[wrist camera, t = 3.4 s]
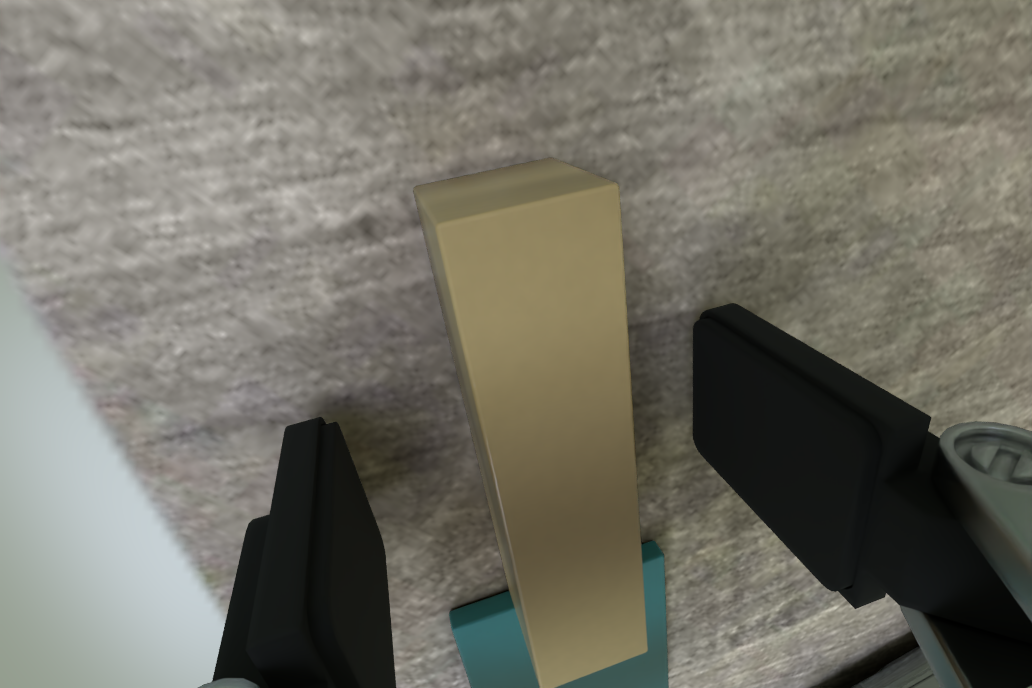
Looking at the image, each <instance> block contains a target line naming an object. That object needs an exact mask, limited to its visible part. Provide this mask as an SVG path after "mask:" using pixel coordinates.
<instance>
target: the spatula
mask: <svg viewBox="0 0 1032 688" xmlns="http://www.w3.org/2000/svg"><path fill="white" fill-rule="evenodd" d="M413 192H414V196H415V200H416V205H417V209H418V213H419V217H420V221H421V225H422V230H423V234H424V238H425V242H426V246H427V250H428V255H429V259H430V263H431V267H432V271H433V275H434V280H435V284H436V288H437V292H438V296H439V300H440V305H441V309H442V313H443V317H444V321H445V325H446V330H447V334H448V338H449V342H450V346H451V350H452V355H453V359H454V363H455V367H456V371H457V375H458V380H459V384H460V388H461V392H462V396H463V400H464V405H465V409H466V413H467V417H468V421H469V425H470V430H471V434H472V438H473V442H474V446H475V450H476V455H477V459H478V463H479V467H480V471H481V475H482V480H483V484H484V488H485V492H486V496H487V500H488V505H489V509H490V513H491V517H492V521H493V525H494V530H495V534H496V538H497V542H498V546H499V550H500V555H501V559H502V563H503V567H504V571H505V575H506V580H507V584H508V588H509V591H507V592H504V593H501V594H498V595H495V596H492V597H490V598H487V599H484V600H481V601H478V602H475V603H472V604H470V605H467V606H464V607H461V608H458V609H455V610H452V611H450V613H449V617H450V623H451V628H452V632H453V635H454V638H455V641H456V644H457V647H458V650H459V653H460V656H461V659H462V662H463V665H464V668H465V671H466V674H467V677H468V680H469V683H470V686H471V688H669V685H668V655H667V625H666V595H665V565H664V554H663V552H662V551H661V549H660V548H659V546H658V545H657V543H656V542H655V541H650V542H647V543H644V544H641V532H640V516H639V500H638V484H637V467H636V451H635V435H634V419H633V402H632V386H631V370H630V354H629V337H628V321H627V305H626V289H625V273H624V256H623V240H622V224H621V208H620V191H619V186H618V184H617V183H615V182H612V181H610V180H607V179H605V178H602V177H600V176H597V175H595V174H592V173H590V172H587V171H584V170H582V169H579V168H577V167H574V166H572V165H569V164H567V163H564V162H562V161H559V160H556V159H554V158H547V159H542V160H537V161H532V162H528V163H523V164H518V165H514V166H509V167H504V168H499V169H495V170H490V171H485V172H481V173H476V174H471V175H466V176H462V177H457V178H452V179H448V180H443V181H438V182H433V183H429V184H424V185H419V186H416V187H415V188H414V190H413Z"/></svg>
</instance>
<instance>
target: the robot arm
mask: <svg viewBox="0 0 1032 688" xmlns="http://www.w3.org/2000/svg"><path fill="white" fill-rule="evenodd" d="M930 421H931V417H930V416H928V415H927V414H925V413H923V412H921V411H920V410H918V409H916V408H915V407H913V406H911V405H909V404H908V403H906V402H904V401H903V400H901V399H899V398H897V397H896V396H894V395H892V394H891V393H889V392H887V391H885V390H884V389H882V388H880V387H879V386H877V385H875V384H873V383H872V382H870V381H868V380H866V379H865V378H863V377H861V376H860V375H858V374H856V373H854V372H853V371H851V370H849V369H848V368H846V367H844V366H842V365H841V364H839V363H837V362H836V361H834V360H832V359H830V358H829V357H827V356H825V355H824V354H822V353H820V352H818V351H817V350H815V349H813V348H812V347H810V346H808V345H806V344H805V343H803V342H801V341H799V340H798V339H796V338H794V337H793V336H791V335H789V334H787V333H786V332H784V331H782V330H781V329H779V328H777V327H775V326H774V325H772V324H770V323H769V322H767V321H765V320H763V319H762V318H760V317H758V316H757V315H755V314H753V313H751V312H750V311H748V310H746V309H744V308H743V307H741V306H739V305H737V304H734V303H732V304H728V305H724V306H720V307H717V308H713V309H709V310H706V311H704V312H703V313H702V314H701V316H700V320H698V321H696V322H695V324H694V326H693V440H694V443H695V446H696V448H697V450H698V452H699V453H700V454H701V455H702V456H703V458H704V459H705V460H706V461H707V462H708V463H709V464H710V465H711V466H712V467H713V468H714V469H715V470H716V471H717V472H718V474H719V475H720V476H721V477H722V478H723V479H724V480H725V481H726V482H727V483H728V484H729V485H730V486H731V487H732V489H733V490H734V491H735V492H736V493H737V494H738V495H739V496H740V497H741V498H742V499H743V500H744V501H745V502H746V503H747V505H748V506H749V507H750V508H751V509H752V510H753V511H754V512H755V513H756V514H757V515H758V516H759V517H760V518H761V519H762V521H763V522H764V523H765V524H766V525H767V526H768V527H769V528H770V529H771V530H772V531H773V532H774V533H775V534H776V536H777V537H778V538H779V539H780V540H781V541H782V542H783V543H784V544H785V545H786V546H787V547H788V548H789V549H790V550H791V552H792V553H793V554H794V555H795V556H796V557H797V558H798V559H799V560H800V561H801V562H802V563H803V564H804V565H805V566H806V568H807V569H808V570H809V571H810V572H811V573H812V574H813V575H814V576H815V577H816V578H817V579H818V580H819V581H820V583H821V584H823V585H824V586H825V587H826V588H827V589H829V590H831V591H835V592H836V591H839V592H840V593H841V595H842V596H843V597H844V598H845V599H846V600H847V601H848V602H849V603H850V604H851V605H852V606H853V607H854V608H855V609H856V608H859V607H861V606H864V605H866V604H869V603H871V602H874V601H876V600H879V599H881V598H884V597H885V595H886V593H887V594H888V595H889V596H890V597H891V598H892V599H894V600H895V601H896V602H897V603H898V604H899V605H900V608H901V611H902V613H903V615H904V617H905V619H906V621H907V623H908V625H909V627H910V629H911V631H912V632H913V634H914V636H915V638H916V640H917V642H918V644H919V646H920V648H921V650H922V652H923V654H924V656H925V658H926V660H927V662H928V664H929V666H930V668H931V670H932V672H933V673H934V675H935V677H936V679H937V681H938V683H939V685H940V687H941V688H1032V431H1029V430H1026V429H1023V428H1020V427H1017V426H1012V425H1006V424H1001V423H996V422H978V421H975V422H967V423H959V424H957V425H954V426H952V427H949V428H947V429H946V430H945V431H944V432H943V433H942V435H941V436H940V438H938V437H937V436H935V435H933V434H932V433H930V432H929V431H928V428H929V424H930ZM198 688H396V680H395V668H394V655H393V642H392V630H391V617H390V604H389V592H388V579H387V566H386V555H385V549H384V544H383V540H382V537H381V534H380V531H379V529H378V526H377V523H376V521H375V518H374V515H373V513H372V510H371V508H370V505H369V502H368V500H367V497H366V494H365V492H364V489H363V487H362V484H361V481H360V479H359V476H358V473H357V471H356V468H355V466H354V463H353V460H352V458H351V455H350V452H349V450H348V447H347V445H346V442H345V439H344V437H343V434H342V432H341V429H340V427H339V425H338V423H337V422H333V423H329V424H326V422H325V421H324V419H323V418H322V417H318V418H315V419H311V420H308V421H304V422H300V423H297V424H293V425H289V426H287V427H286V428H285V432H284V437H283V443H282V448H281V454H280V460H279V465H278V471H277V476H276V482H275V488H274V493H273V499H272V504H271V510H270V515H266V516H263V517H260V518H257V519H253V520H252V521H251V522H250V523H249V525H248V527H247V530H246V533H245V538H244V542H243V547H242V551H241V556H240V560H239V565H238V569H237V574H236V578H235V582H234V587H233V591H232V596H231V600H230V605H229V609H228V614H227V618H226V623H225V627H224V631H223V636H222V641H221V645H220V649H219V654H218V658H217V663H216V667H215V672H214V676H213V681H212V682H211V683H207V684H204V685H202V686H200V687H198Z"/></svg>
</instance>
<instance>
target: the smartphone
mask: <svg viewBox="0 0 1032 688" xmlns="http://www.w3.org/2000/svg"><path fill="white" fill-rule="evenodd" d="M851 688H941V687H940V685H939V683H938V681H937V679H936V677H935V675H934V673H933V672H932V670H931V668H930V666H929V664H928V662H927V660H926V658H925V656H924V654H923V652H922V650H921V648H920V646H918V647H916V648H914V649H913V650H911V651H909V652H907V653H906V654H904V655H902V656H900V657H899V658H897V659H895V660H893V661H892V662H890V663H888V664H887V665H885V666H884V667H883V668H882V669H881V670H880V671H879V672H877V673H875V674H874V675H872V676H870V677H868V678H867V679H865V680H863V681H861V682H860V683H858V684H856V685H854V686H853V687H851Z"/></svg>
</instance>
